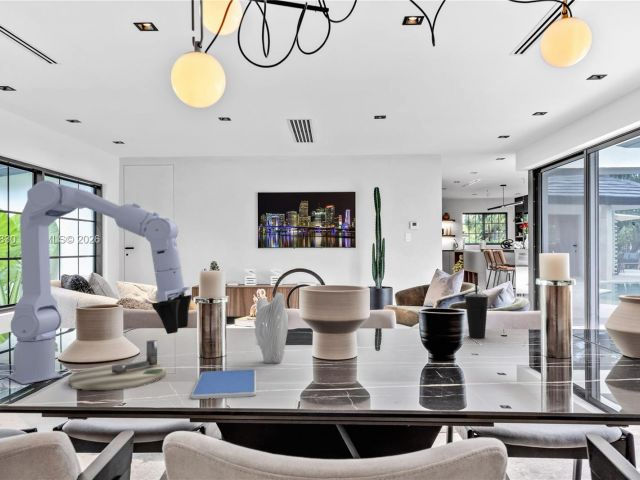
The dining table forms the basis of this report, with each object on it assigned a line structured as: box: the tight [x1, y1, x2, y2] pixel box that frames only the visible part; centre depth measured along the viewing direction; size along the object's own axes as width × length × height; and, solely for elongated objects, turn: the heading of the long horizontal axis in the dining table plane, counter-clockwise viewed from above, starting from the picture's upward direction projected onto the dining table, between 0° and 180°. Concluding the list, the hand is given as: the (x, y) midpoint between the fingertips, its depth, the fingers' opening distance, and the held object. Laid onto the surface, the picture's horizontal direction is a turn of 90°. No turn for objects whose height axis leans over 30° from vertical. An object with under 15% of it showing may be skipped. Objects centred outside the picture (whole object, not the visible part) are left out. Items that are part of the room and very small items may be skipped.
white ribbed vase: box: [254, 292, 289, 364], centre depth 119 cm, size 8×8×18 cm
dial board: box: [67, 362, 167, 391], centre depth 104 cm, size 20×20×1 cm
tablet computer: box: [190, 369, 257, 400], centre depth 99 cm, size 19×13×1 cm, turn 8°
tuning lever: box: [112, 339, 158, 373], centre depth 107 cm, size 11×3×6 cm, turn 140°
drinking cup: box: [464, 275, 490, 340], centre depth 152 cm, size 8×8×20 cm
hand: (177, 330), depth 104 cm, fingers open, 7 cm apart
